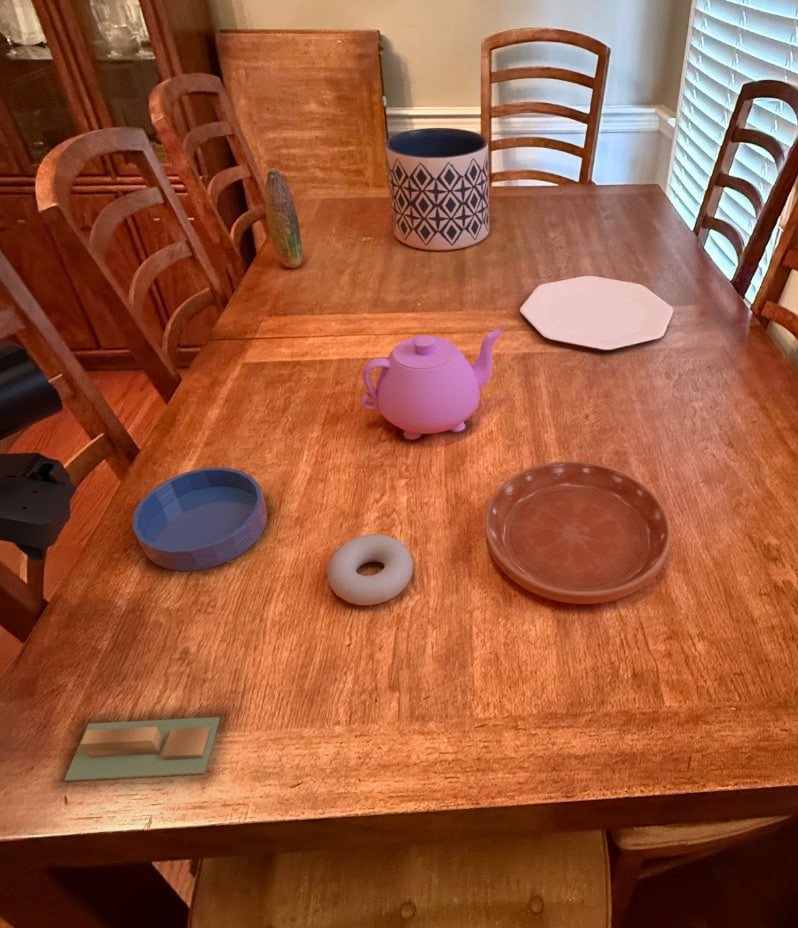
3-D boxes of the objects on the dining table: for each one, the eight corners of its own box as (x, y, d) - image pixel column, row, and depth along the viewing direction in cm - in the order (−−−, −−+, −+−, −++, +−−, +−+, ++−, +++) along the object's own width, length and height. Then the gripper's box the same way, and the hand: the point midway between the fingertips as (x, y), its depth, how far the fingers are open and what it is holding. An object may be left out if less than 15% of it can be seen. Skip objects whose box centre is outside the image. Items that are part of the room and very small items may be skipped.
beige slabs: (211, 730, 67) (204, 717, 66) (203, 757, 65) (195, 745, 64) (99, 735, 67) (89, 722, 65) (87, 764, 65) (77, 751, 63)
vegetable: (271, 270, 147) (249, 172, 134) (285, 258, 152) (265, 163, 139) (297, 273, 146) (278, 175, 133) (311, 261, 151) (293, 165, 138)
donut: (378, 536, 88) (312, 579, 82) (375, 516, 86) (307, 559, 80) (431, 577, 83) (364, 626, 77) (429, 557, 81) (360, 606, 75)
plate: (565, 366, 119) (566, 359, 118) (501, 298, 138) (501, 291, 137) (698, 334, 128) (699, 327, 127) (620, 275, 147) (621, 268, 146)
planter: (423, 210, 175) (416, 123, 161) (504, 224, 168) (504, 134, 155) (375, 242, 159) (364, 149, 146) (463, 259, 152) (459, 163, 139)
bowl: (253, 568, 84) (246, 548, 81) (123, 574, 83) (113, 554, 81) (277, 484, 95) (272, 465, 93) (164, 488, 94) (156, 469, 92)
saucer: (702, 582, 83) (708, 561, 80) (524, 637, 76) (524, 616, 74) (615, 465, 99) (618, 445, 97) (462, 503, 93) (461, 482, 90)
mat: (64, 781, 64) (63, 780, 64) (89, 725, 68) (88, 723, 68) (204, 774, 64) (203, 772, 64) (220, 718, 69) (219, 716, 69)
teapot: (491, 379, 116) (490, 303, 107) (518, 433, 104) (520, 354, 96) (358, 400, 111) (346, 323, 102) (372, 459, 100) (359, 378, 91)
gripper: (-30, 552, 48) (62, 678, 58) (80, 399, 63) (139, 522, 73) (-198, 558, 48) (-76, 685, 58) (-48, 402, 62) (29, 526, 72)
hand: (16, 595), depth 65 cm, fingers open, 9 cm apart
